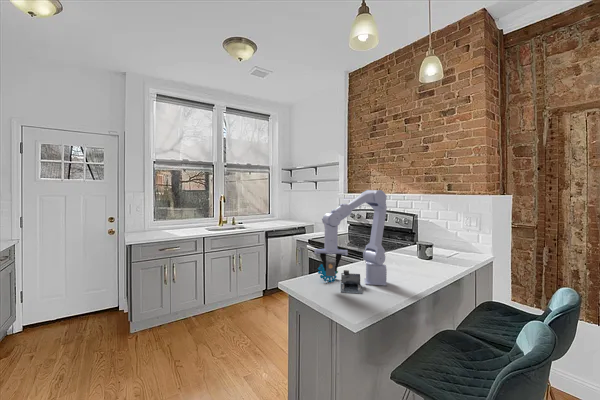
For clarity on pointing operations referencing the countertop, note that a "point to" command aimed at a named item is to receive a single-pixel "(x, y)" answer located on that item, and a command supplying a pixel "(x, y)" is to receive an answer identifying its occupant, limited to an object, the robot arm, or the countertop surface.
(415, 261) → the countertop surface
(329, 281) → the gear
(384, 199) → the robot arm
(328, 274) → the grey knobbed block
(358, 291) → the motor mount
